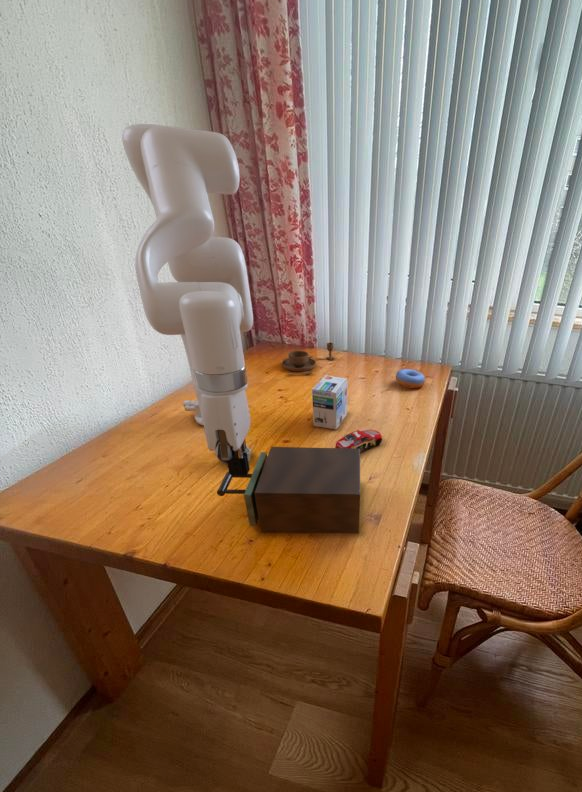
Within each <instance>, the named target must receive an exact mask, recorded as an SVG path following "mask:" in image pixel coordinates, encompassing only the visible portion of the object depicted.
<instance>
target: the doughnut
mask: <svg viewBox="0 0 582 792" xmlns="http://www.w3.org/2000/svg"><path fill="white" fill-rule="evenodd" d="M395 381H396V382H397V384H399V385H401V386H402V387H405V388H409V389H418V388H421V387H422V386H423V385H424V384H425V381H426V378H425V375H424V374H423V373H421V372H420V371H418V370H415V369H410V368H401V369H399V370H398V371H396V373H395Z"/></svg>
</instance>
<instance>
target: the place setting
mask: <svg viewBox="0 0 582 792" xmlns="http://www.w3.org/2000/svg"><path fill="white" fill-rule="evenodd" d="M326 350H327V351H328V356H327V357H326V360H328V361H334V360H335V358H334V357H333V355H332V351H334V343H333V342H327V343H326ZM281 365H282V367H283V368H284V369H285V370H287V371H290V372H293V373H289V374H287V376H293V375H300V374H303V375H310V374H312V373H313V371H312V370H313V369H314V368H315V367H316V365H317V361H316V360H315V359H314V358H313V356H311V355H310V356H309V353H308V352H307V351H303V350H293V351H289V352H288V357H287V358H285V359H283V360H282V361H281Z"/></svg>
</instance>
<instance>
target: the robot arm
mask: <svg viewBox="0 0 582 792" xmlns="http://www.w3.org/2000/svg"><path fill="white" fill-rule="evenodd" d="M121 139H122V140H121V141H122V145H123V149H124V152H125V155H126V158H127V160H128V163H129V165H130V167H131V169H132V171H133V173H134V175H135V176H136V179H137V180H138V182H139V184H140V185H141V187H142V189H143V190H144V192H145V193H146V195H147V197H148V199H149V201H150V203H151V205H152V207H153V211H154V214H155V221H153V222H152V224H151V225H150V226H149V227H148V229H147V230H145V233H144V234H143V236H142V238H141V240H140V241H139V244H138V246H137V250H136V252H135V257H134V258H135V259H134V260H135V261H134V262H135V263H134V265H135V274H136V275H135V276H136V280H137V284H138V289H139V294H140V299H141V303H142V308H143V311H144V315H145V317H146V320H147V322H148V324H149V325H150V327H151V328H152V329H153V330H154V331H155V332H157V333H159V334H160V335H161V334H162V335H164V336H178V335H179V336H180V337H181V340H182V343H183V348H184V351H185V354H186V358H187V363H188V367H189V371H190V376H191V380H192V384H193V389H194V393H195V397H196V400H183V402H182V405H183V407H184V411H185V412H194V421H195V422H196V423H197V424H198V425H200V426H203V428H204V434H205V441H206V444H207V445H206V446H207V448H208V450H209V451H210V452H214V451H215V449H216V447H217V446H218V444H219V442H220V450H221V459H222V460H227V464H228V465H227V468H228V471H229V473H230V475H247V474H249V473H250V469H251V468H250V463H249V462H248V457H247V452H246V446H247V441H246V437H247V435H248V433H249V431H250V428H251V423H252V422H251V421H252V420H251V414H250V408H249V407H250V406H249V401H248V396H247V392H246V389H247V388H248V387H249V380H248V374H247V368H246V361H245V355H244V347H243V342H242V341H243V340H242V335H241V333H242V334H243V333H247V332H249V331H251V330H252V328H253V326H254V313H253V304H252V299H251V291H250V284H249V277H248V271H247V270H248V269H247V264H246V259H245V254H244V252H243V250H242V247H241V246H240V243H238V242H237V241H236V240H234V239H233V238H231V237H226V236H225V237H224V236H213V235H214V232H215V227H216V226H215V220H214V215H213V212H212V208H211V207H212V206H211V204H210V199H209V195H208V194H217V195H235V194H236V193H237V192H238V190H239V187H240V181H241V180H240V179H241V178H240V177H241V175H240V167H239V166H240V165H239V162H238V158H237V154H236V152H235V149H234V147H233V145H232V143H231V141H230V140H229V139H228V137H226V135H224V134H222V133H220V132H217V131H209V130H202V129H193V128H187V127H178V126H170V125H169V126H168V125H161V124H152V123H135V124H130V125H127V126H126V127H125V128H124V129H122V134H121ZM166 264H167V265H168V268H169V272H170V274H171V276H172V277H173V280H175V281H173V282H171V281H170V282H169V281H168V282H167V281H166V282H159V277H158V276H159V272H160V271H161V269H162V268H163V267H164V266H165V265H166Z"/></svg>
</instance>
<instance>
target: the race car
mask: <svg viewBox="0 0 582 792" xmlns="http://www.w3.org/2000/svg"><path fill="white" fill-rule="evenodd" d="M382 442H383V436H382V434H381V432H380V431H379V430H375V429H364V430H359V429H357V430H354V431H352V432H350V433H347V434H346V435H344V436H342V437H341V438H340V439H337V441H336V443H335V446H334V448H352V449H360V453H361V452H364V451H367V450H368V449H371V448H373V447H375V446H380V445H381V443H382Z"/></svg>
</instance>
